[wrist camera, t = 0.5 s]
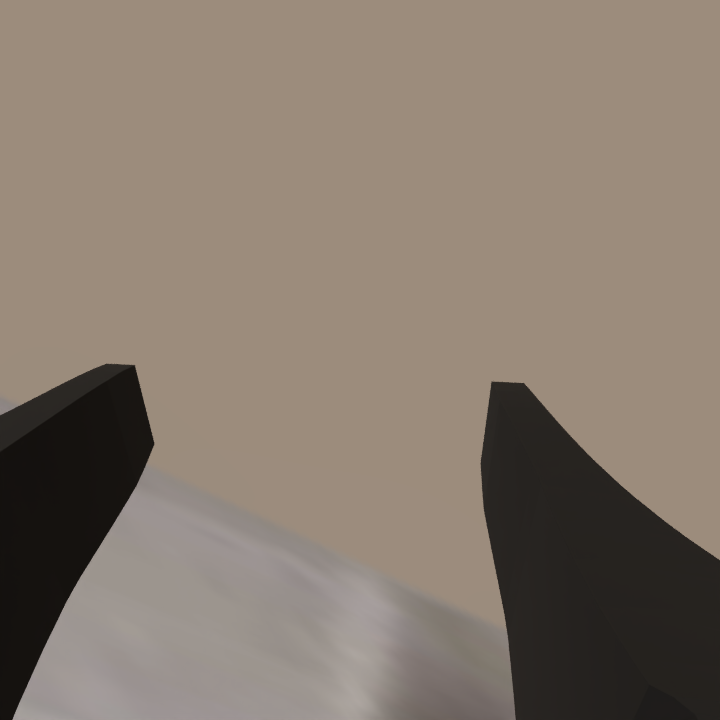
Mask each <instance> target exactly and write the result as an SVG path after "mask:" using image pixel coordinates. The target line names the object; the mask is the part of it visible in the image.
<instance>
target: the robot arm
mask: <svg viewBox="0 0 720 720" xmlns="http://www.w3.org/2000/svg"><path fill="white" fill-rule="evenodd" d="M153 446H154V440H153V436H152V432H151V428H150V424H149V420H148V416H147V412H146V408H145V404H144V400H143V396H142V392H141V388H140V384H139V381H138V376H137V372H136V368H135V365H120V364H105V365H102V366H100V367H97V368H95V369H92V370H90V371H88V372H86V373H84V374H82V375H79V376H77V377H75V378H73V379H71V380H69V381H67V382H65V383H63V384H61V385H59V386H57V387H55V388H53V389H51V390H49V391H48V392H46V393H44V394H42V395H40V396H38V397H36V398H34V399H32V400H30V401H28V402H26V403H24V404H22V405H20V406H18V407H16V408H14V409H12V410H10V411H8V412H6V413H4V414H2V415H0V720H12V719H13V717H14V714H15V712H16V709H17V707H18V705H19V702H20V700H21V698H22V696H23V693H24V691H25V689H26V687H27V684H28V682H29V680H30V678H31V675H32V673H33V671H34V669H35V667H36V664H37V662H38V660H39V658H40V655H41V653H42V651H43V649H44V647H45V645H46V643H47V641H48V639H49V636H50V634H51V632H52V630H53V628H54V626H55V624H56V622H57V620H58V618H59V616H60V614H61V612H62V610H63V608H64V606H65V604H66V602H67V600H68V598H69V596H70V594H71V593H72V591H73V589H74V587H75V586H76V584H77V582H78V580H79V578H80V577H81V575H82V574H83V572H84V570H85V569H86V567H87V566H88V564H89V562H90V561H91V559H92V558H93V556H94V554H95V553H96V551H97V549H98V548H99V546H100V545H101V543H102V541H103V540H104V538H105V537H106V535H107V533H108V532H109V530H110V529H111V527H112V525H113V524H114V522H115V521H116V519H117V517H118V516H119V514H120V512H121V511H122V509H123V507H124V506H125V504H126V502H127V501H128V499H129V498H130V496H131V494H132V492H133V491H134V489H135V487H136V486H137V483H138V481H139V479H140V477H141V475H142V472H143V470H144V468H145V466H146V463H147V461H148V458H149V456H150V453H151V451H152V448H153ZM481 476H482V491H483V504H484V512H485V517H486V523H487V528H488V533H489V538H490V543H491V549H492V553H493V559H494V564H495V569H496V574H497V579H498V584H499V589H500V594H501V599H502V604H503V609H504V614H505V621H506V627H507V634H508V641H509V651H510V661H511V672H512V682H513V692H514V704H515V715H516V720H720V560H719V559H717V558H716V557H714V556H713V555H711V554H710V553H708V552H707V551H705V550H704V549H702V548H701V547H700V546H698V545H697V544H695V543H694V542H692V541H691V540H689V539H688V538H687V537H685V536H684V535H682V534H681V533H680V532H678V531H677V530H675V529H674V528H673V527H672V526H670V525H669V524H668V523H666V522H665V521H664V520H662V519H661V518H660V517H659V516H657V515H656V514H655V513H654V512H652V511H651V510H650V509H649V508H647V507H646V506H645V505H644V504H642V503H641V502H640V501H639V500H637V499H636V498H635V497H634V496H632V495H631V494H630V493H629V492H628V491H627V490H626V489H624V488H623V487H622V486H621V485H620V484H619V483H618V482H617V481H615V480H614V479H613V478H612V477H611V476H610V475H609V474H608V473H607V472H606V471H605V470H604V469H602V467H600V466H599V465H598V464H597V463H596V462H595V461H594V460H593V459H592V458H591V457H590V456H589V455H588V454H587V453H586V452H585V451H584V450H583V449H582V448H581V447H580V446H579V445H578V444H577V442H576V441H575V440H574V439H573V438H572V437H571V436H570V435H569V434H568V433H567V432H566V431H565V430H564V429H563V427H562V426H561V425H560V424H559V423H558V422H557V421H556V420H555V418H554V417H553V416H552V415H551V414H550V413H549V412H548V410H547V409H546V408H545V407H544V406H543V405H542V403H541V402H540V401H539V400H538V399H537V398H536V396H535V395H534V394H533V393H532V392H531V391H530V389H529V388H528V387H527V386H526V385H525V384H524V383H509V382H492V383H491V390H490V398H489V406H488V413H487V420H486V427H485V435H484V442H483V450H482V457H481Z"/></svg>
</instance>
